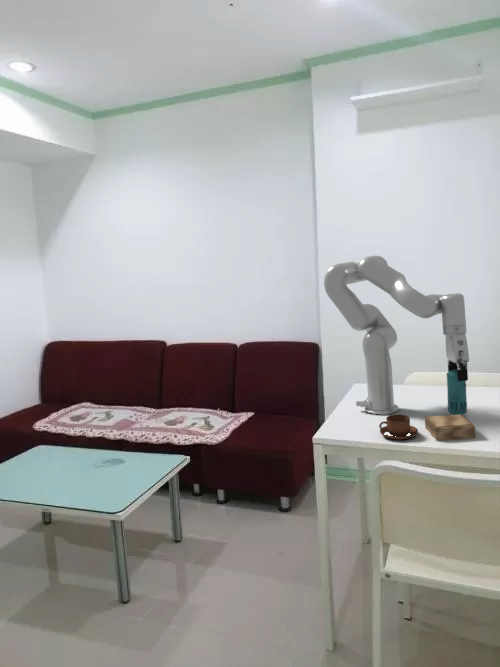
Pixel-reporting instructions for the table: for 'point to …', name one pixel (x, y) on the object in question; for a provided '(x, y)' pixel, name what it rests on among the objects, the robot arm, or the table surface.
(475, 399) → the table surface
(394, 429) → the cup and saucer
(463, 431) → the walnut base
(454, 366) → the beverage bottle
